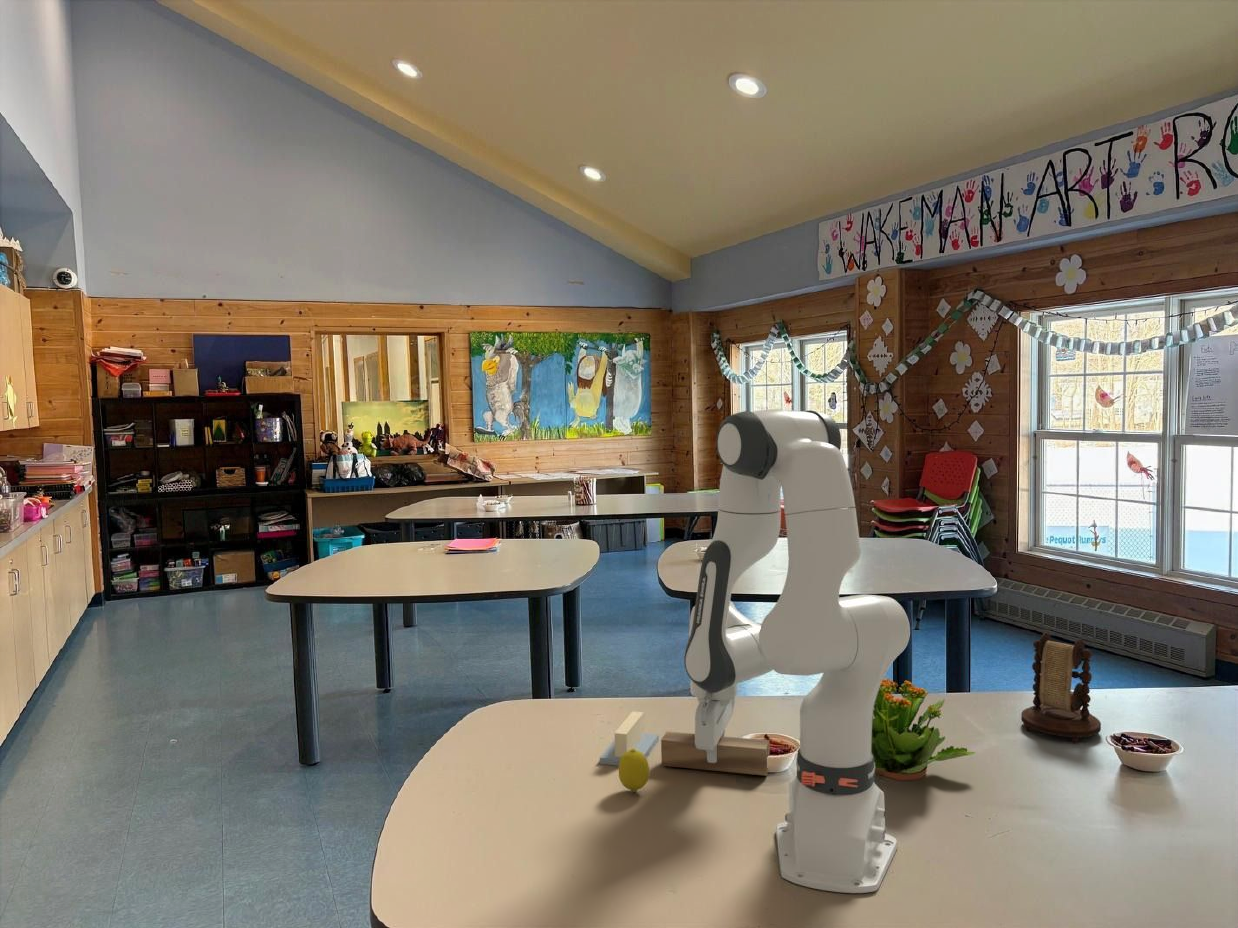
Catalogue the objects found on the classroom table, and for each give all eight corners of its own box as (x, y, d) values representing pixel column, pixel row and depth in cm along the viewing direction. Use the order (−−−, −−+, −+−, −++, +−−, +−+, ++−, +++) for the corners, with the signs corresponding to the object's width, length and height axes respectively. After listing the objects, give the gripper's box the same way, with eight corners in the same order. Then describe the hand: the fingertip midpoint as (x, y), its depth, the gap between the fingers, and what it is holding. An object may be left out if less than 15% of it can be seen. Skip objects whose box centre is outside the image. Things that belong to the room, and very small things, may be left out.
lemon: (613, 795, 161) (612, 751, 160) (627, 782, 166) (626, 740, 165) (641, 801, 158) (640, 757, 158) (654, 788, 163) (653, 745, 163)
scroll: (1008, 730, 186) (1010, 636, 185) (1039, 711, 196) (1040, 622, 195) (1083, 750, 176) (1086, 650, 174) (1111, 730, 185) (1114, 635, 184)
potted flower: (977, 757, 173) (978, 669, 172) (969, 811, 152) (970, 710, 150) (846, 739, 184) (846, 655, 182) (821, 786, 162) (821, 692, 161)
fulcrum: (639, 767, 172) (638, 737, 172) (600, 763, 175) (599, 733, 174) (658, 740, 185) (658, 711, 185) (621, 736, 188) (621, 708, 187)
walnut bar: (766, 775, 166) (766, 749, 165) (661, 765, 172) (661, 739, 171) (769, 765, 170) (769, 740, 170) (667, 756, 176) (666, 731, 176)
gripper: (720, 703, 159) (721, 779, 160) (739, 669, 178) (740, 737, 179) (685, 700, 161) (687, 775, 162) (708, 667, 180) (709, 734, 181)
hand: (715, 755), depth 171 cm, fingers closed on walnut bar, 4 cm apart
